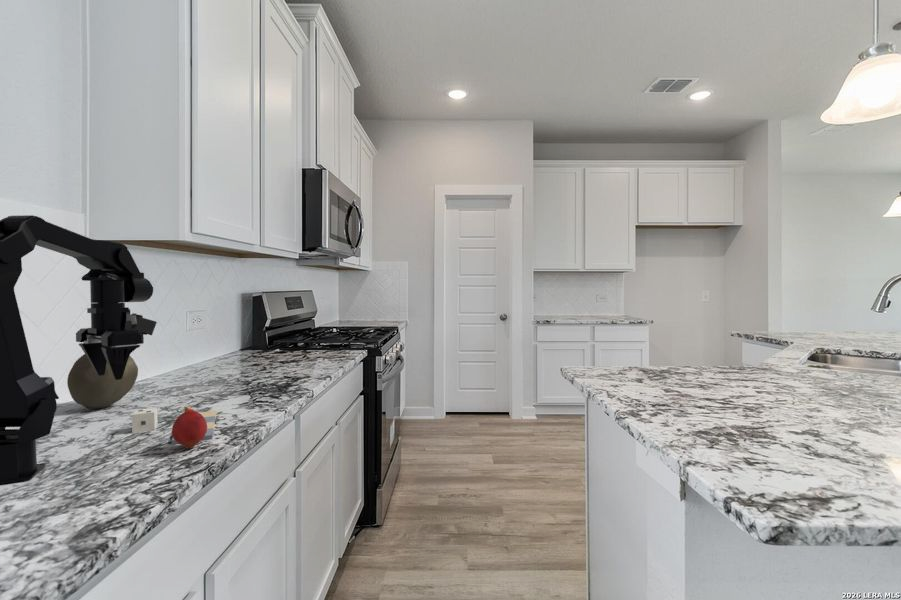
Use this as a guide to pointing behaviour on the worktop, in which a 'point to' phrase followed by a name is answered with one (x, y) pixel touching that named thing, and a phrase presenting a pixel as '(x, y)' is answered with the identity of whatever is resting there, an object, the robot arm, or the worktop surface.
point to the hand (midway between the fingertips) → (109, 377)
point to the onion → (189, 428)
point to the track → (210, 420)
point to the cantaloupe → (99, 383)
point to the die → (144, 420)
